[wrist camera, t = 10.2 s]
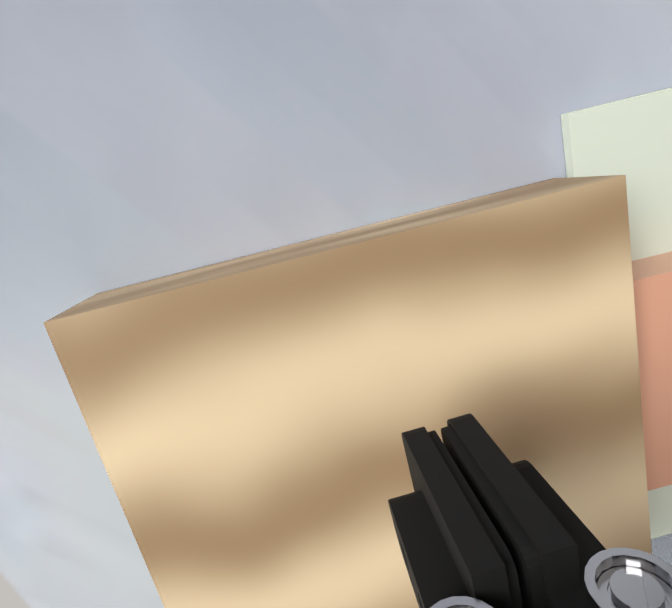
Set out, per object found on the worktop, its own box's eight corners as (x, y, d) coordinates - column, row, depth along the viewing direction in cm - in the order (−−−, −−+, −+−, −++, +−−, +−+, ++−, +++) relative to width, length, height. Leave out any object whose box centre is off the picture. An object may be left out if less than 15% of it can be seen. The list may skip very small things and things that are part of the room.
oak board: (97, 293, 15) (43, 322, 12) (553, 178, 16) (625, 174, 13) (221, 616, 19) (208, 709, 15) (589, 509, 20) (653, 576, 16)
